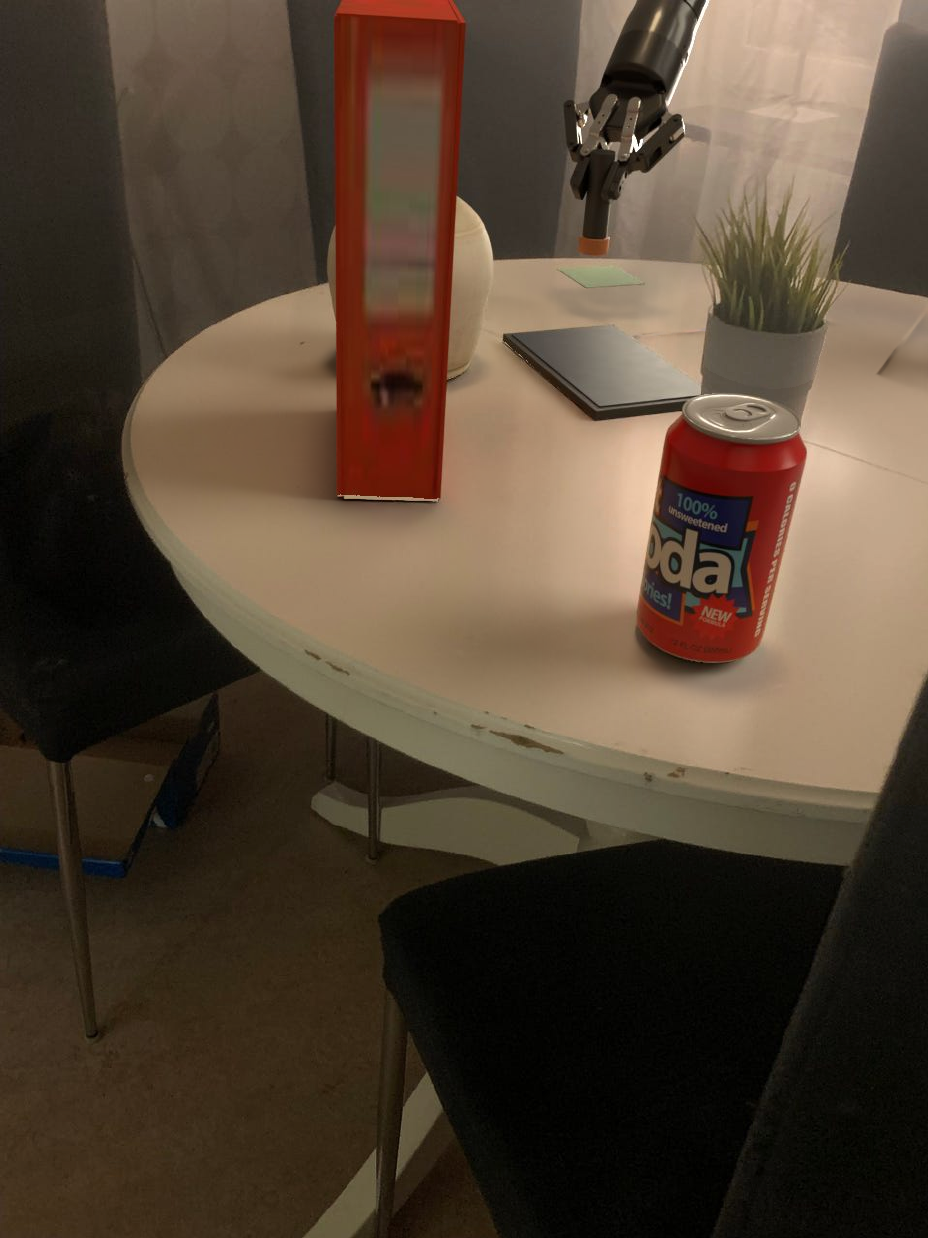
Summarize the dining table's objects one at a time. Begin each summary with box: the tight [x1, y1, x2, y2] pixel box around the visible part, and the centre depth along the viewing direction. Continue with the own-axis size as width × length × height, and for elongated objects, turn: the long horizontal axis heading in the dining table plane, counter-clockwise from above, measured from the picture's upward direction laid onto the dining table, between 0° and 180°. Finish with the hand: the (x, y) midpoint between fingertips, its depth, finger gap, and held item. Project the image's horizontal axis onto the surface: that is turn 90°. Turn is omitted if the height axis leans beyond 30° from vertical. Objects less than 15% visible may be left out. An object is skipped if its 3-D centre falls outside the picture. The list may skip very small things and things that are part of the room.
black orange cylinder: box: [577, 149, 617, 257], centre depth 113 cm, size 3×3×10 cm
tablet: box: [502, 324, 702, 421], centre depth 106 cm, size 13×21×1 cm, turn 21°
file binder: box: [333, 0, 467, 499], centre depth 79 cm, size 8×17×32 cm, turn 3°
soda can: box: [636, 392, 808, 664], centre depth 64 cm, size 8×8×15 cm
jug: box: [326, 195, 494, 379], centre depth 99 cm, size 15×16×25 cm
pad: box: [557, 264, 646, 289], centre depth 132 cm, size 8×8×1 cm
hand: (591, 196), depth 110 cm, fingers closed on black orange cylinder, 2 cm apart
